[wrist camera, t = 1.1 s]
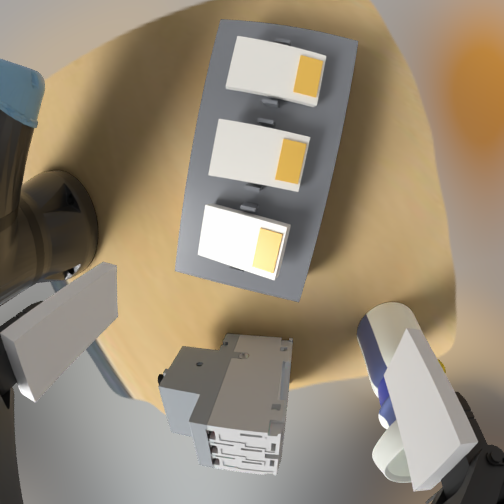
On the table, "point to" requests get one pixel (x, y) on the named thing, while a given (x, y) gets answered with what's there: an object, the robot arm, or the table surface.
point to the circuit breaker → (231, 401)
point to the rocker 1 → (276, 71)
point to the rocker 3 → (243, 240)
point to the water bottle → (377, 361)
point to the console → (277, 117)
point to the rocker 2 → (258, 155)
